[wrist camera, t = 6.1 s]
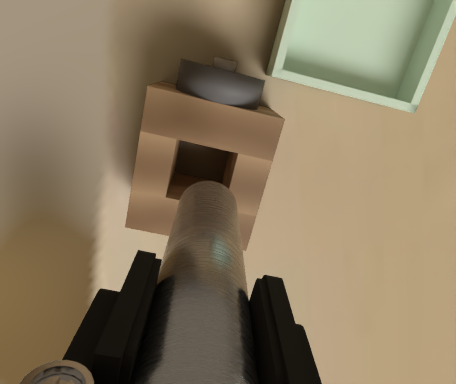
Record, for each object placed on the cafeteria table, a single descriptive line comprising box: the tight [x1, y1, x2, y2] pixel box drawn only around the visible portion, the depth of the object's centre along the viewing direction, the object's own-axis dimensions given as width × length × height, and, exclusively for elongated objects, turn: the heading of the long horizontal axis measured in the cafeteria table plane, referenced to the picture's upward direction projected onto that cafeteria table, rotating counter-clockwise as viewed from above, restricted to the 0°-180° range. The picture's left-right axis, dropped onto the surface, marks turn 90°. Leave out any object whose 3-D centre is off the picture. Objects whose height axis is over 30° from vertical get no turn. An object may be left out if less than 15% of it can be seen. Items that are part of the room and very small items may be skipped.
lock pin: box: [129, 181, 259, 384], centre depth 11 cm, size 4×4×14 cm
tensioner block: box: [125, 57, 285, 251], centre depth 26 cm, size 13×9×6 cm
